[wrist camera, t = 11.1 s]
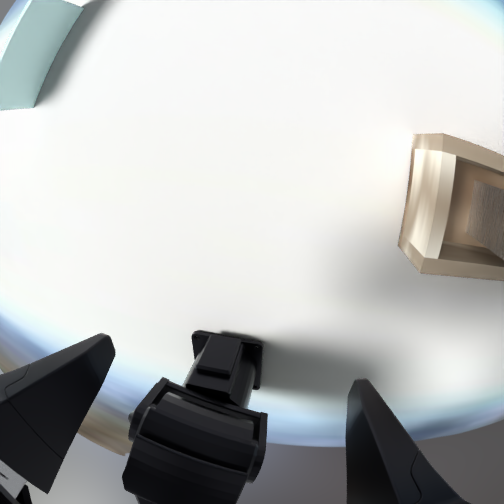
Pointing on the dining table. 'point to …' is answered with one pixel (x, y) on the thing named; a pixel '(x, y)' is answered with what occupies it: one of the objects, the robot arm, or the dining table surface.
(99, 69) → the dining table surface
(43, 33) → the l-shaped corner panel
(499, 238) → the light grey rectangular block
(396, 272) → the dining table surface
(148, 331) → the dining table surface
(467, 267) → the beige tray
